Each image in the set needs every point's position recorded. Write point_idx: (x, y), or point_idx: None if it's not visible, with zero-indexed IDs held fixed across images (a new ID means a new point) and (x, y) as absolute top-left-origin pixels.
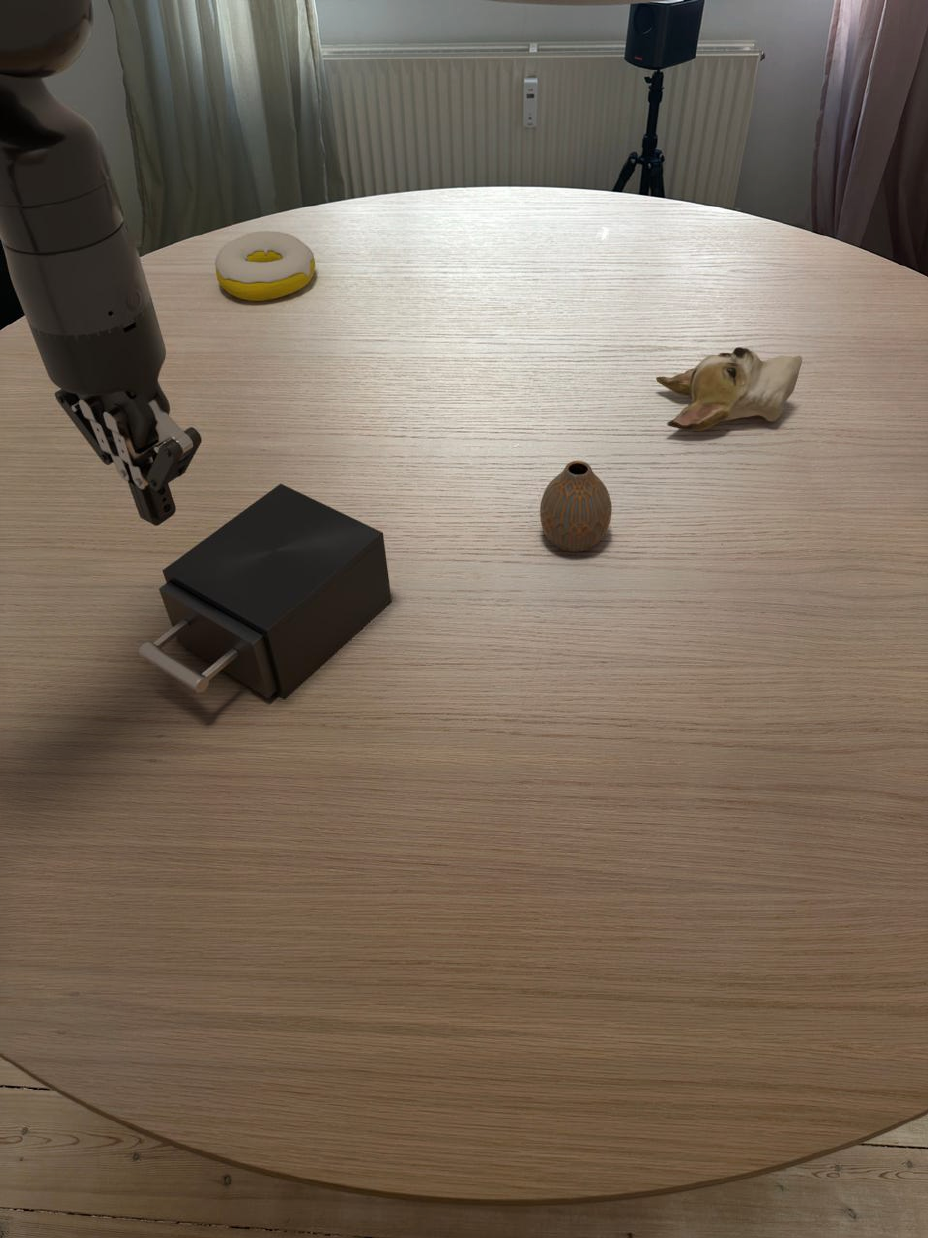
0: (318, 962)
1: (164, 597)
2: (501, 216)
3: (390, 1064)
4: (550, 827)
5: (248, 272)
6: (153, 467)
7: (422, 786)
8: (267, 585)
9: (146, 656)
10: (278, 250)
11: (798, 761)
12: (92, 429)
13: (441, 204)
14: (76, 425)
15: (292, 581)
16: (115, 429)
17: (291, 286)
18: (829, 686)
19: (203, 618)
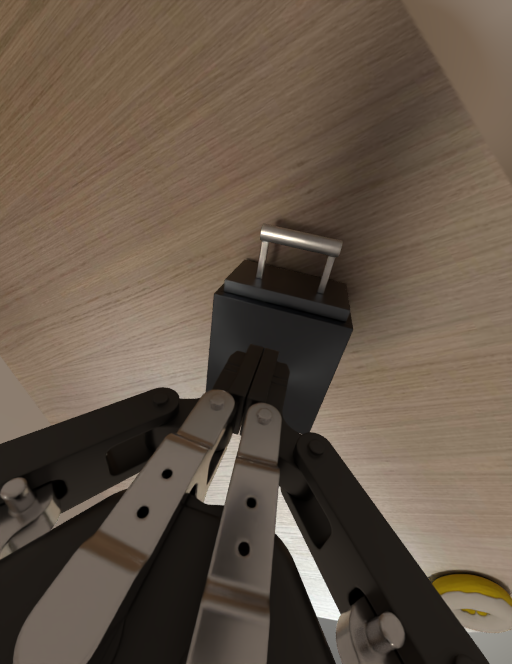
0: (73, 57)
1: (344, 305)
2: (335, 606)
3: None
4: (53, 240)
5: (478, 603)
6: (105, 434)
7: (122, 236)
8: (247, 339)
9: (330, 239)
10: (465, 614)
11: (12, 322)
12: (337, 530)
13: None
14: (397, 544)
15: (231, 348)
16: (80, 570)
17: (440, 583)
18: (32, 363)
19: (289, 293)
